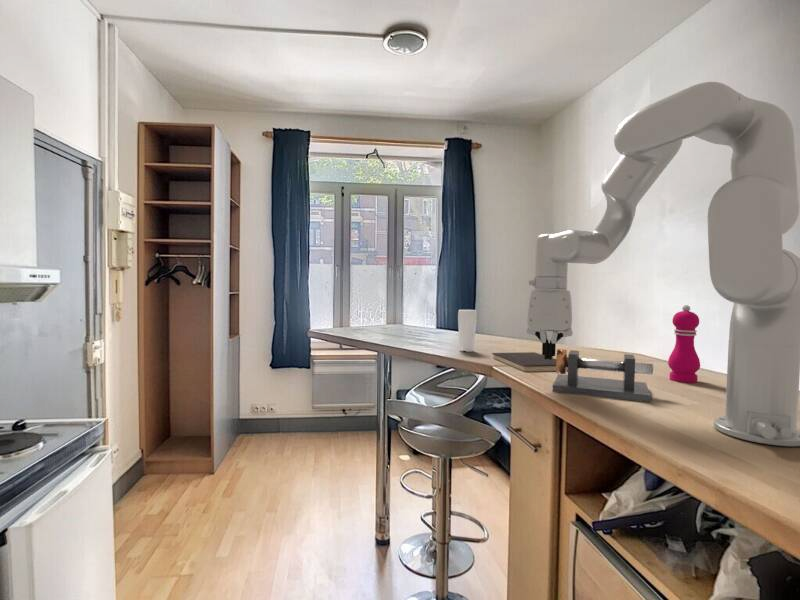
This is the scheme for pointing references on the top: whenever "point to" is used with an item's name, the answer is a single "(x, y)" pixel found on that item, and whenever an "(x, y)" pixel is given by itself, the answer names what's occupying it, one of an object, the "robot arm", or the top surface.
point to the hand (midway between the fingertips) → (548, 358)
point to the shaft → (598, 364)
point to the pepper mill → (684, 347)
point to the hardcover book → (527, 361)
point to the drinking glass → (467, 329)
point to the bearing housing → (602, 382)
